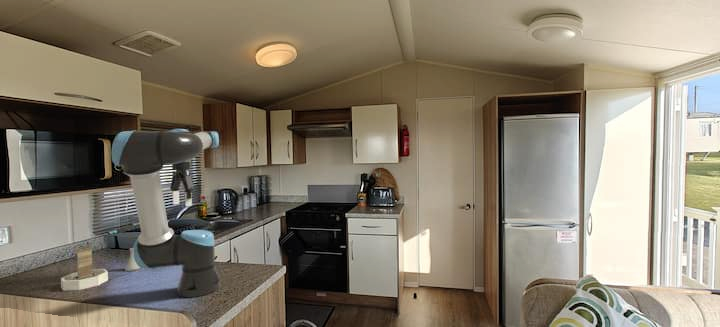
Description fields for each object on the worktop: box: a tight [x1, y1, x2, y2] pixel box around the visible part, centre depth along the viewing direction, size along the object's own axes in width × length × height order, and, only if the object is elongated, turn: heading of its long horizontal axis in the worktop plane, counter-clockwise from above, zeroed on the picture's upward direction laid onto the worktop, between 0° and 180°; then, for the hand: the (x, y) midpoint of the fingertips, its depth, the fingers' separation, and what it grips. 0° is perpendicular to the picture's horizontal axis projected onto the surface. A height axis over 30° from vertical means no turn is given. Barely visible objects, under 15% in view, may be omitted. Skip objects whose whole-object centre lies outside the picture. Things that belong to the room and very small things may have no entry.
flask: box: [124, 247, 142, 272], centre depth 155 cm, size 7×7×10 cm
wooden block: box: [76, 247, 93, 279], centre depth 137 cm, size 2×4×14 cm, turn 139°
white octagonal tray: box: [60, 268, 109, 292], centre depth 137 cm, size 15×15×4 cm
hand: (182, 205), depth 155 cm, fingers open, 13 cm apart
